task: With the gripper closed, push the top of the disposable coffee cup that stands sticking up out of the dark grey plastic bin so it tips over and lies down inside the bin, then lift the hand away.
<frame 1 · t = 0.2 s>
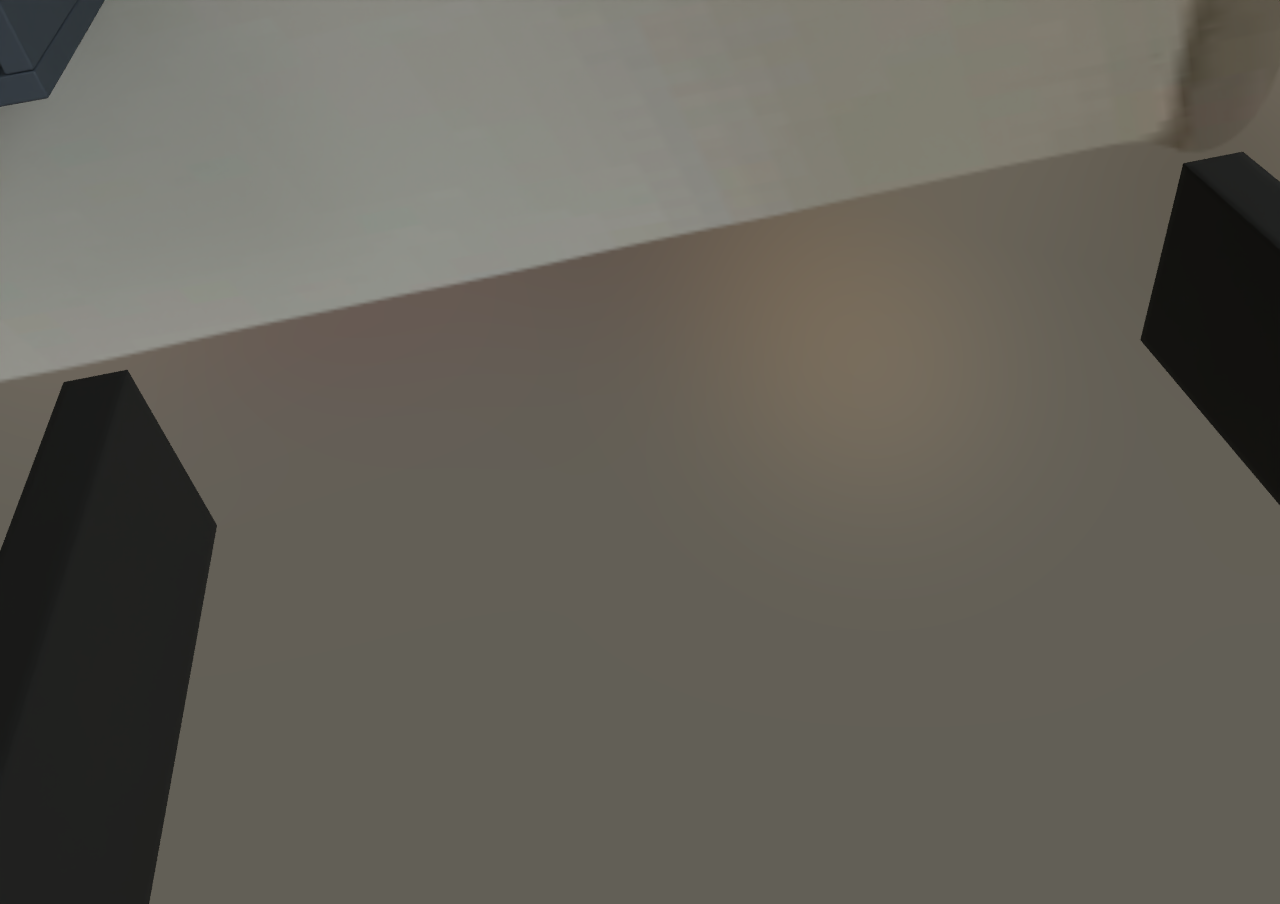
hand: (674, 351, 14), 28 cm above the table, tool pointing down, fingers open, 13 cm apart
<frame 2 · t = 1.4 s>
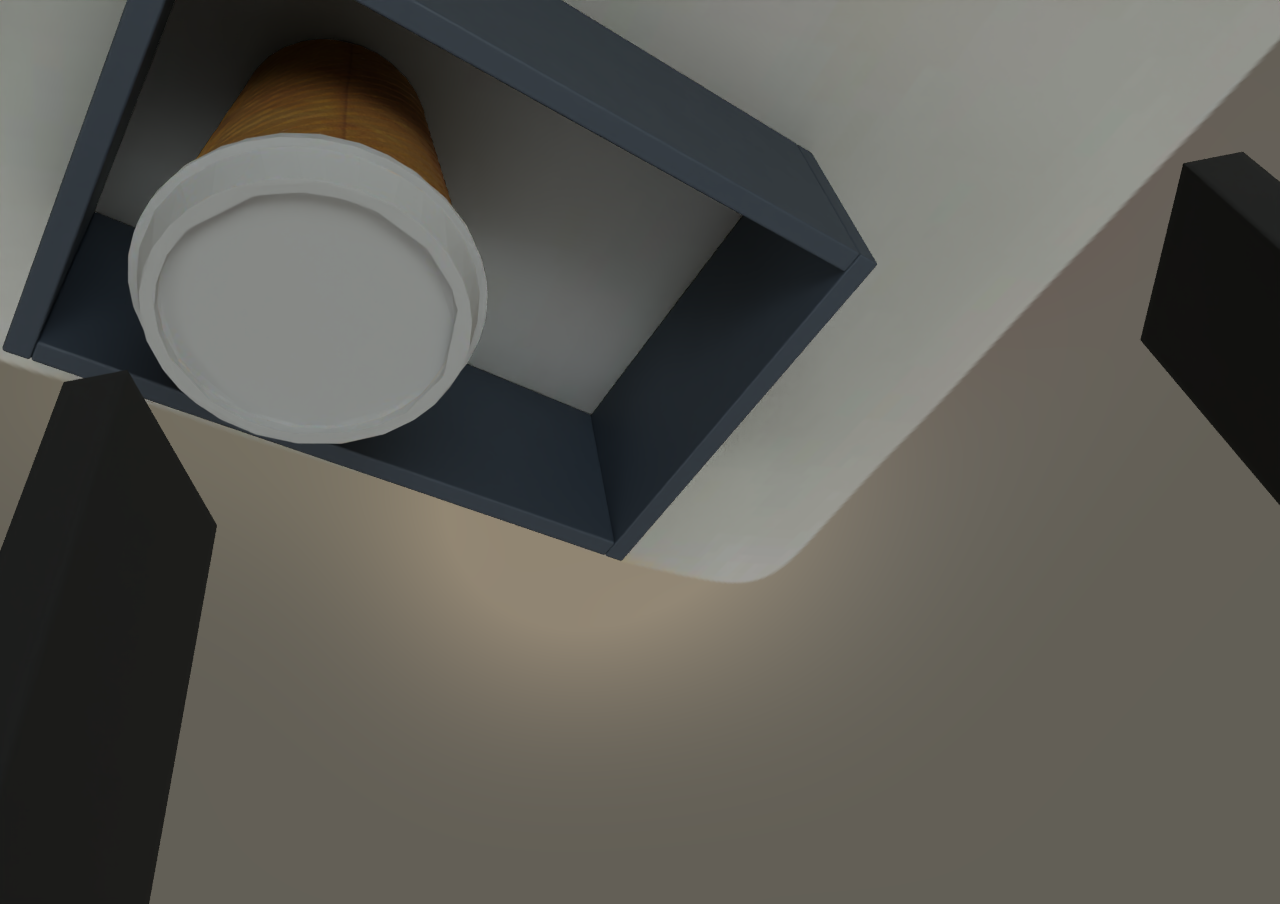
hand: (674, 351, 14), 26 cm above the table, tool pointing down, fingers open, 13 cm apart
bin: (451, 184, 40), on the table
disposable coffee cup: (336, 125, 38), resting in bin
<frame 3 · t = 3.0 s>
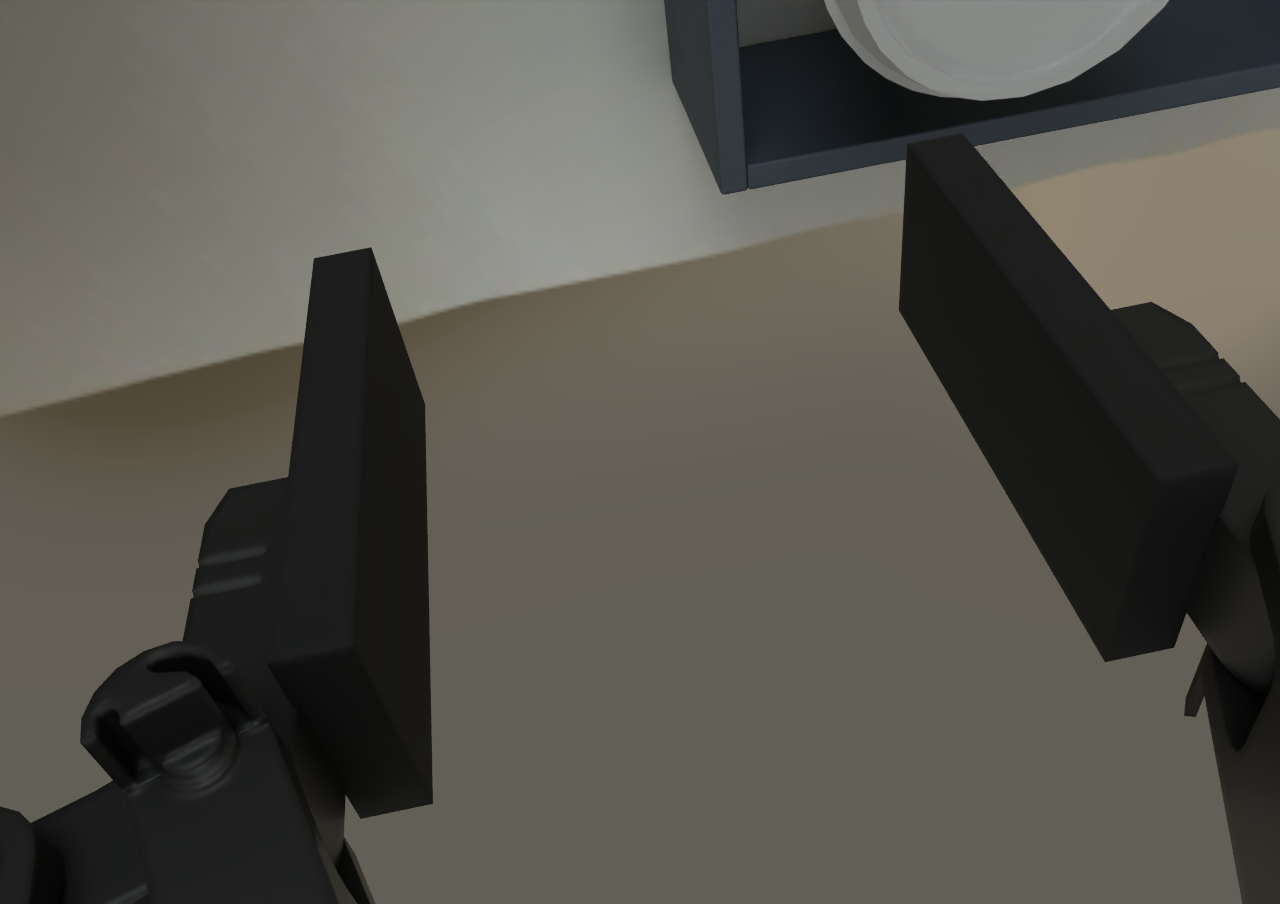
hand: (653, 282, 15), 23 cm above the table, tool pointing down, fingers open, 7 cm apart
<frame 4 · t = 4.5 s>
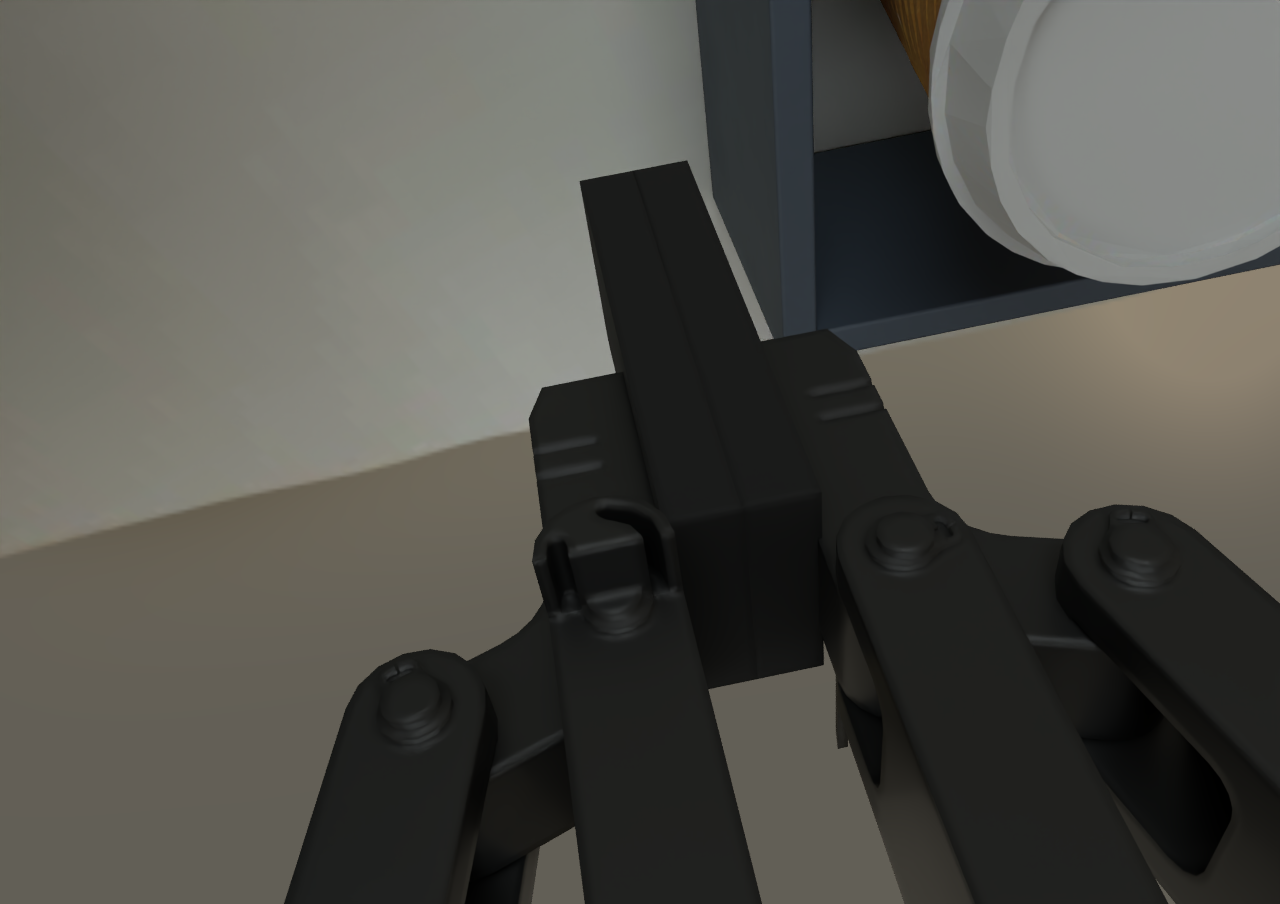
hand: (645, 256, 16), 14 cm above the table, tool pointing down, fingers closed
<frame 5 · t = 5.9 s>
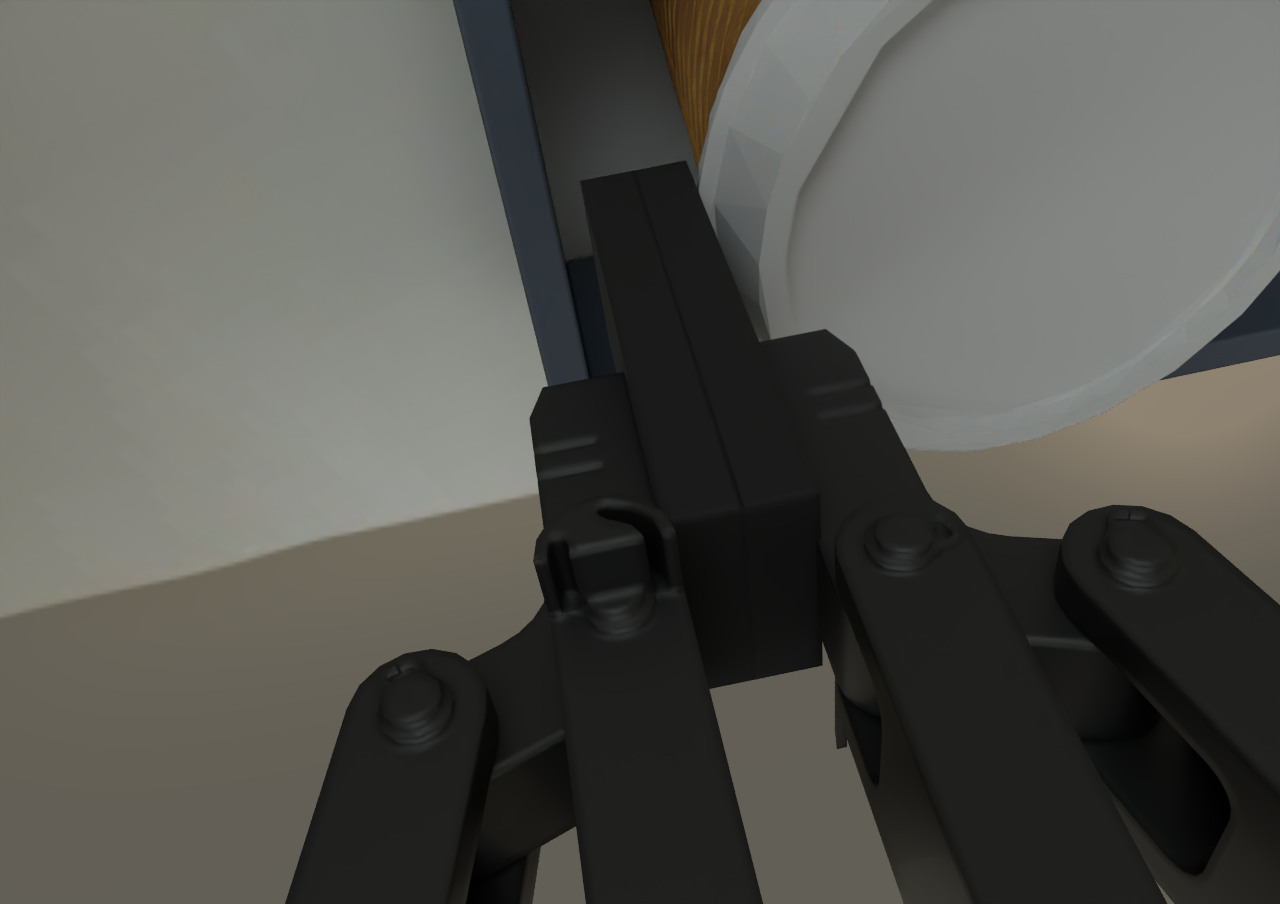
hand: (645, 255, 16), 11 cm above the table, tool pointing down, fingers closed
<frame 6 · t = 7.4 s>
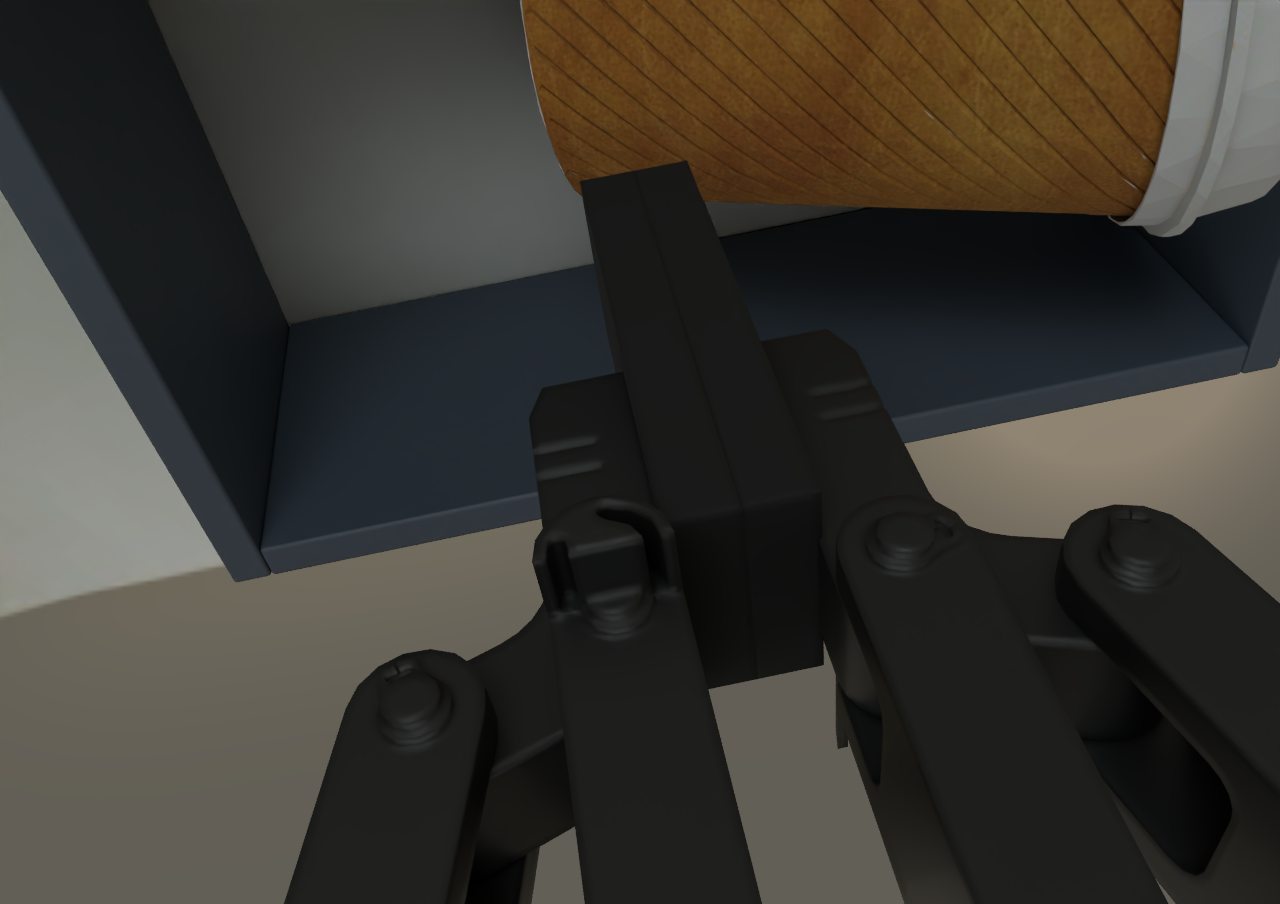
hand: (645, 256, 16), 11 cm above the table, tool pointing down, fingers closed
disposable coffee cup: (559, 33, 21), point 3 cm above the table, touching bin
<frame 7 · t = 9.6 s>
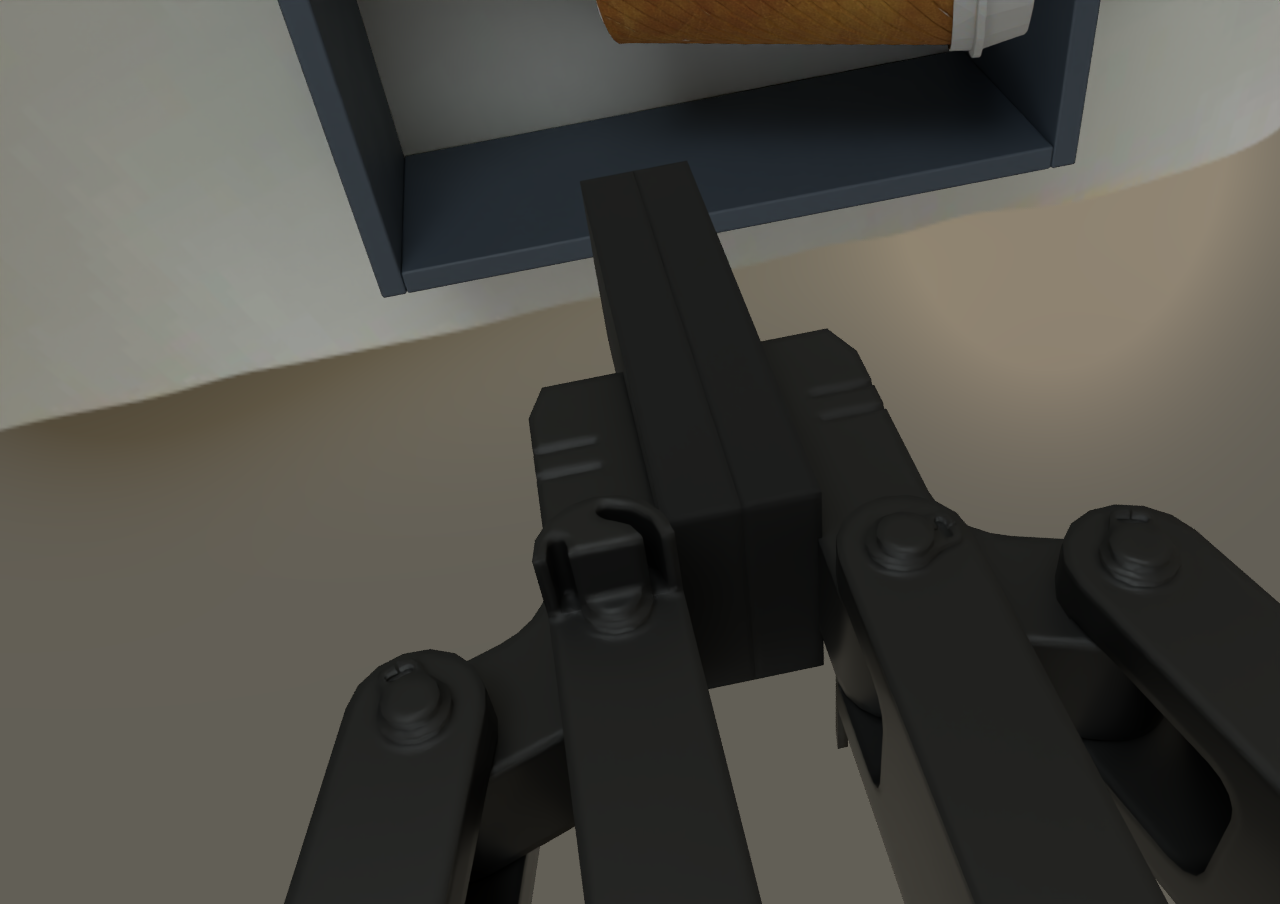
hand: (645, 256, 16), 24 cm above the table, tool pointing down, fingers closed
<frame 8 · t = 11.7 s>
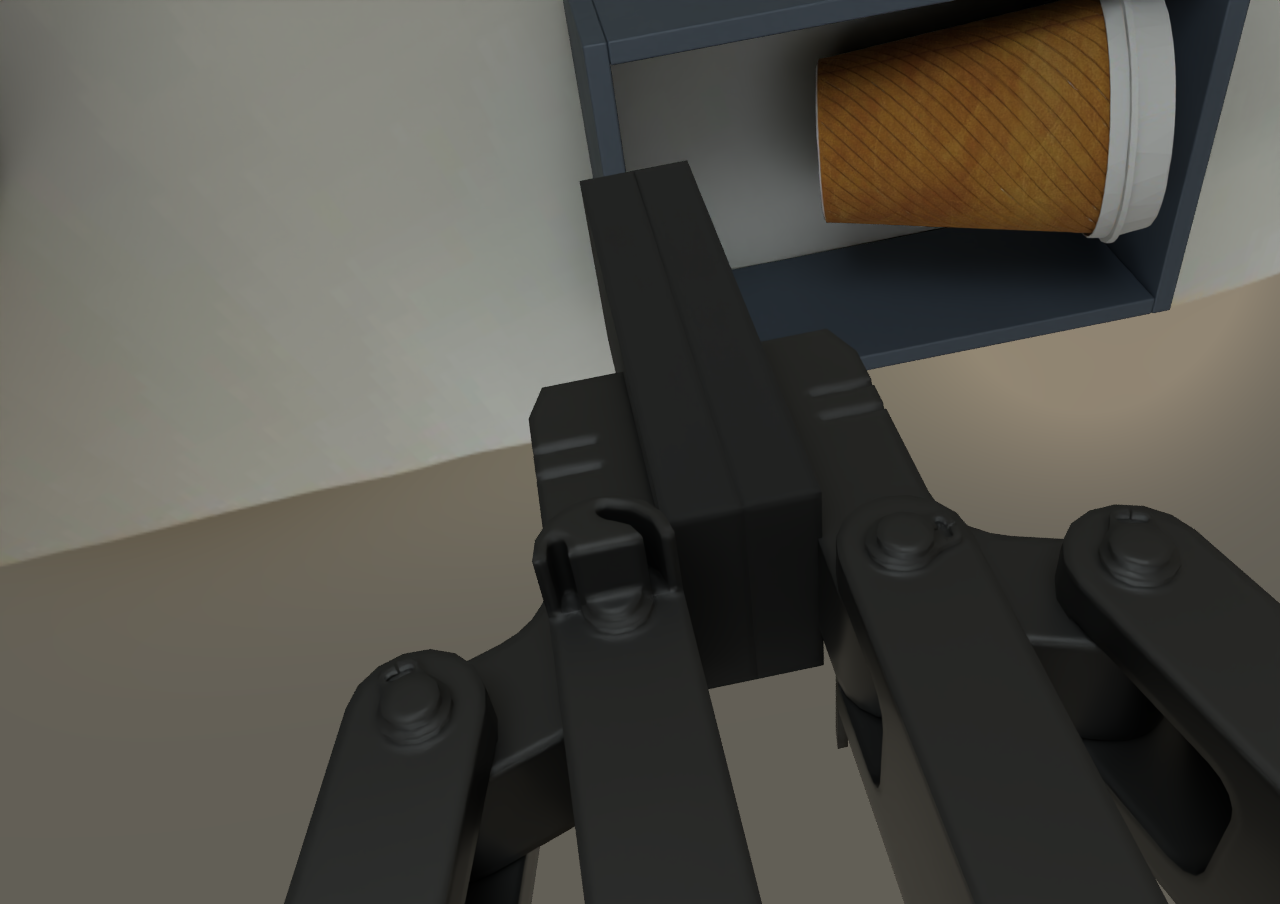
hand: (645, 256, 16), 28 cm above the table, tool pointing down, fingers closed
bin: (852, 104, 46), on the table
disposable coffee cup: (816, 142, 43), point 3 cm above the table, touching bin
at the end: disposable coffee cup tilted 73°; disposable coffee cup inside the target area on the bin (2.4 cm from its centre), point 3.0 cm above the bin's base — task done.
